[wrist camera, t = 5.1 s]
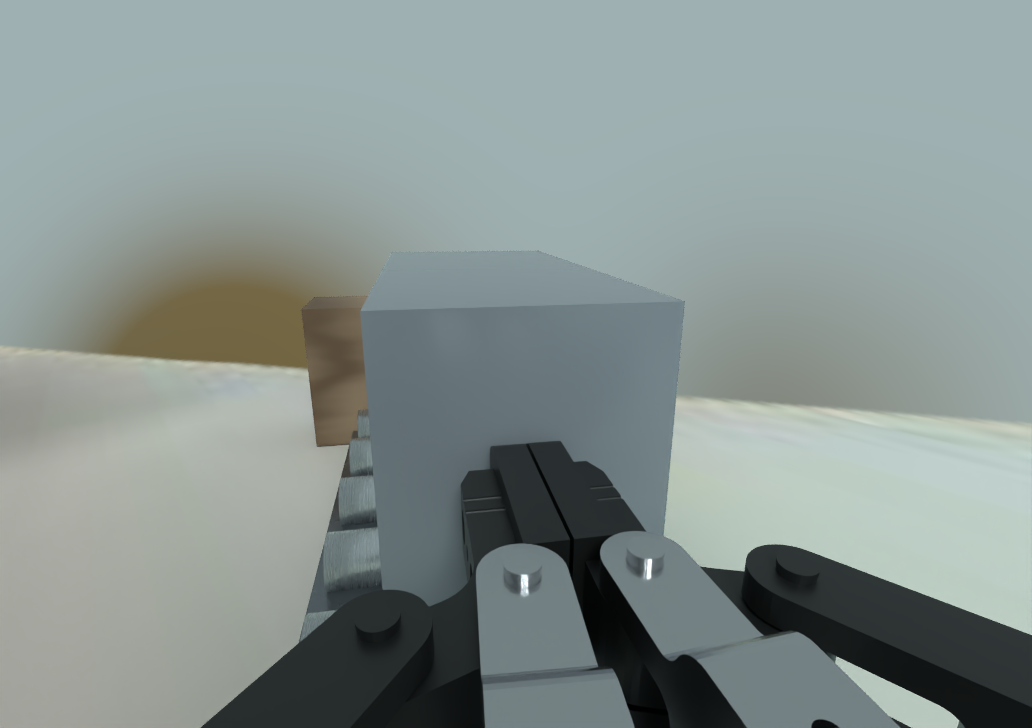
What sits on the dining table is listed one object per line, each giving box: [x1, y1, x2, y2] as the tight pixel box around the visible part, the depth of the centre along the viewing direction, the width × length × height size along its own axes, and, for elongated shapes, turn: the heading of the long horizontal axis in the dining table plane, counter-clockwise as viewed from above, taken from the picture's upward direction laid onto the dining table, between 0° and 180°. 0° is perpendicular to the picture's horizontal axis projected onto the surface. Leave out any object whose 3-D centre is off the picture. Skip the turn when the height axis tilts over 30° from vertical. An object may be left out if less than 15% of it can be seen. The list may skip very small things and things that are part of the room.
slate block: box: [360, 251, 685, 606], centre depth 18 cm, size 14×6×9 cm, turn 10°
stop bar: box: [302, 296, 368, 446], centre depth 33 cm, size 16×4×8 cm, turn 101°
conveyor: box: [299, 409, 383, 643], centre depth 21 cm, size 12×23×2 cm, turn 11°
